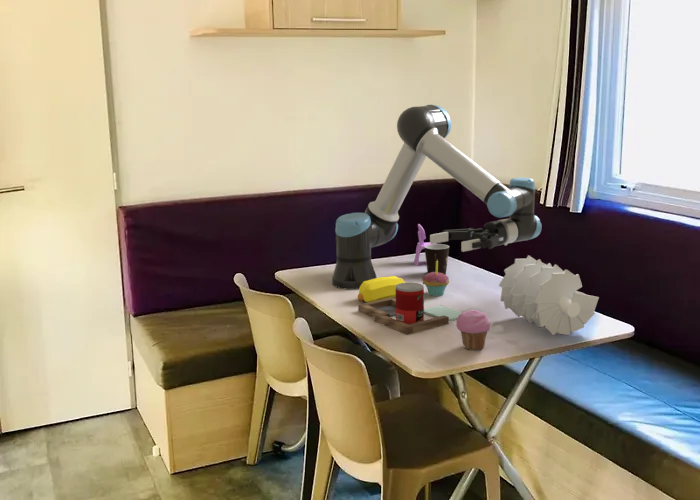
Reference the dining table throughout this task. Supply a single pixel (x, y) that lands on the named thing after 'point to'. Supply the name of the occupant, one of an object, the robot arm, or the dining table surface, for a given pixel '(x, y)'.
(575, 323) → the spiral staircase
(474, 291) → the dining table surface
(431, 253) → the coffee mug
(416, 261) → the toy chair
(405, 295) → the canned food
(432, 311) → the pad
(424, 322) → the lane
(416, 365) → the dining table surface
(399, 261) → the dining table surface
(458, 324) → the cupcake
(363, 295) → the yellow faceted block
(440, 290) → the cupcake
